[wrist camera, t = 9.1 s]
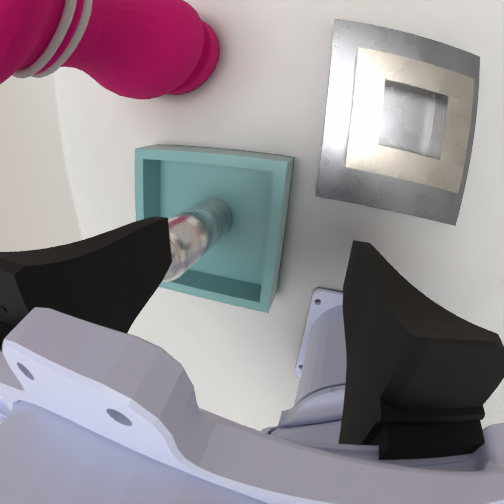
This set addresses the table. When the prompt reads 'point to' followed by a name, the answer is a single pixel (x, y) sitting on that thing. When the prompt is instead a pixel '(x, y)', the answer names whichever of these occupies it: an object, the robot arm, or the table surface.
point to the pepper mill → (109, 43)
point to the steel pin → (196, 233)
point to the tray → (243, 211)
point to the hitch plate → (398, 122)
